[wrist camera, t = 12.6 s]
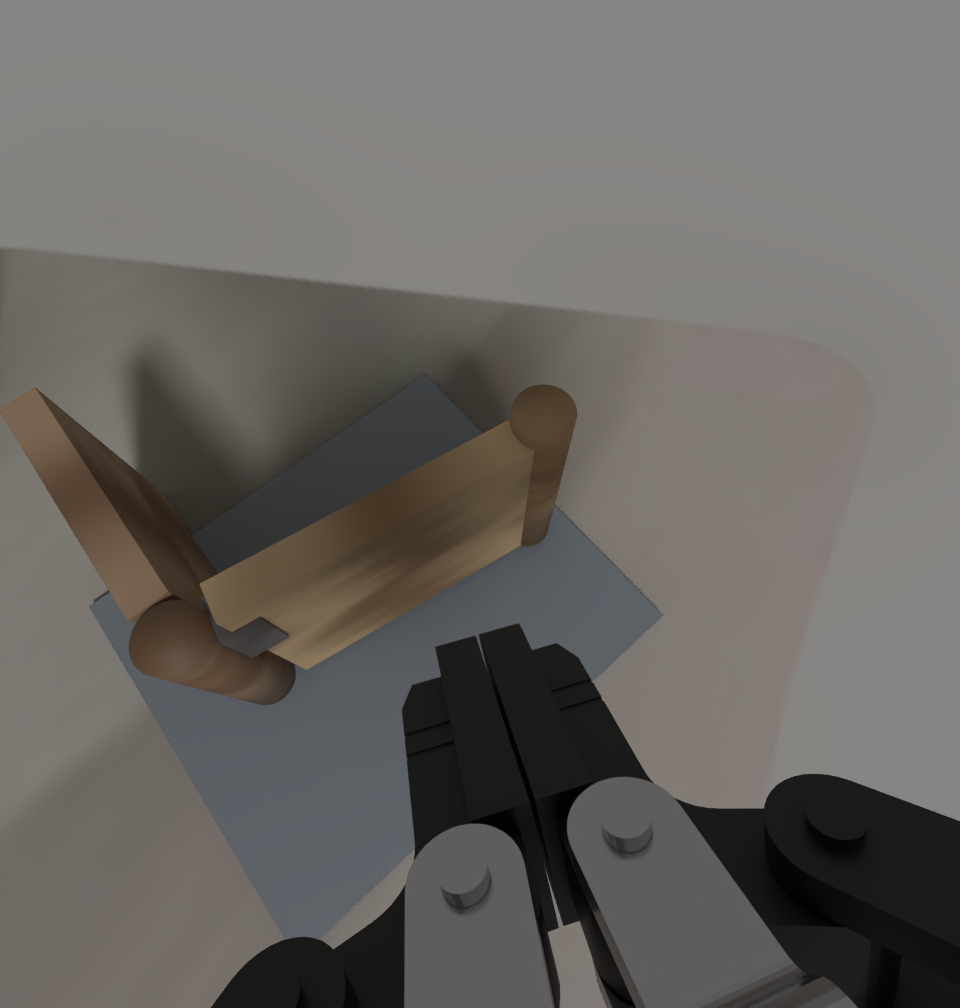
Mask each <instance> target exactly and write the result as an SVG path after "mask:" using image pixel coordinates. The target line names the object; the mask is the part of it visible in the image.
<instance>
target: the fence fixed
mask: <svg viewBox="0 0 960 1008" xmlns="http://www.w3.org/2000/svg"><path fill="white" fill-rule="evenodd" d="M0 413H1V415H2V416H3V418H4V420H5V421H6V423H7V424H8V426H9V428H10V429H11V431H12V433H13V434H14V436H15V438H16V439H17V441H18V442H19V444H20V446H21V447H22V449H23V451H24V452H25V454H26V456H27V457H28V459H29V460H30V462H31V464H32V465H33V467H34V469H35V470H36V472H37V474H38V475H39V477H40V478H41V480H42V482H43V483H44V485H45V487H46V488H47V490H48V492H49V493H50V495H51V496H52V498H53V500H54V501H55V503H56V505H57V506H58V508H59V510H60V511H61V513H62V515H63V516H64V518H65V519H66V521H67V523H68V524H69V526H70V528H71V529H72V531H73V533H74V534H75V536H76V537H77V539H78V541H79V542H80V544H81V546H82V547H83V549H84V551H85V552H86V554H87V555H88V557H89V559H90V560H91V562H92V564H93V565H94V567H95V569H96V570H97V572H98V573H99V575H100V577H101V578H102V580H103V582H104V583H105V585H106V587H107V588H108V590H109V592H110V593H111V595H112V596H113V598H114V600H115V601H116V603H117V605H118V606H119V608H120V610H121V611H122V613H123V614H124V616H125V618H126V619H127V621H129V622H132V623H134V624H135V626H134V628H133V630H132V632H131V635H130V639H129V655H130V658H131V661H132V663H133V664H134V666H135V667H136V668H137V669H138V670H139V671H140V672H142V673H143V674H145V675H147V676H150V677H154V678H158V679H162V680H166V681H169V682H173V683H177V684H181V685H185V686H189V687H193V688H197V689H201V690H205V691H209V692H213V693H217V694H220V695H224V696H228V697H232V698H236V699H240V700H244V701H248V702H252V703H256V704H260V705H271V704H274V703H277V702H279V701H281V700H282V699H283V698H285V697H286V696H287V695H288V693H289V692H290V691H291V689H292V687H293V685H294V682H295V677H296V670H295V666H294V663H292V662H290V661H288V660H286V659H284V658H282V657H280V656H278V655H276V654H274V653H272V652H270V651H268V650H266V651H264V652H262V653H261V654H259V655H257V656H255V657H254V658H251V657H249V656H247V655H245V654H242V653H240V652H238V651H236V650H233V649H231V648H229V647H227V646H224V645H222V644H220V643H219V642H218V639H217V637H216V634H215V632H214V630H213V627H212V625H211V622H210V620H209V618H208V615H207V613H206V611H205V608H204V606H203V603H202V601H201V599H200V598H202V597H204V594H203V592H202V589H201V587H200V583H202V582H204V581H206V580H208V579H209V578H211V577H213V576H215V575H217V574H218V573H217V572H216V570H215V569H214V567H213V566H212V565H211V563H210V562H209V560H208V559H207V557H206V556H205V555H204V553H203V552H202V550H201V549H200V547H199V546H198V544H197V543H196V542H195V540H194V539H193V537H192V536H191V535H192V534H191V532H190V531H189V529H188V528H187V526H186V525H185V524H184V522H183V521H182V519H181V518H180V516H179V515H178V514H177V512H176V511H175V509H174V508H173V506H172V505H171V504H170V502H169V501H168V499H167V498H166V496H165V495H164V494H163V493H162V492H161V491H160V490H158V489H157V488H156V487H155V486H154V485H152V484H151V483H150V482H149V481H148V480H146V479H145V478H144V477H143V476H142V475H140V474H139V473H138V472H137V471H136V470H134V469H133V468H132V467H131V466H129V465H128V464H127V463H126V462H125V461H123V460H122V459H121V458H120V457H119V456H117V455H116V454H115V453H114V452H113V451H111V450H110V449H109V448H108V447H107V446H105V445H104V444H103V443H102V442H100V441H99V440H98V439H97V438H96V437H94V436H93V435H92V434H91V433H90V432H88V431H87V430H86V429H85V428H84V427H82V426H81V425H80V424H79V423H78V422H76V421H75V420H74V419H73V418H71V417H70V416H69V415H68V414H67V413H65V412H64V411H63V410H62V409H61V408H59V407H58V406H57V405H56V404H55V403H53V402H52V401H51V400H50V399H48V398H47V397H46V396H45V395H44V394H42V393H41V392H40V391H39V390H38V389H36V388H33V389H31V390H30V391H28V392H26V393H25V394H23V395H21V396H19V397H18V398H16V399H14V400H12V401H11V402H9V403H7V404H5V405H4V406H2V407H0Z"/></svg>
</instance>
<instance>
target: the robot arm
mask: <svg viewBox="0 0 960 1008" xmlns="http://www.w3.org/2000/svg"><path fill="white" fill-rule="evenodd" d="M479 639H480V643H481V648H482V652H483V656H484V660H485V663H484V660H483V656H482V653H481V650H480V647H479V644H478V641H477V638H476V636H471V637H468V638H464V639H461V640H457V641H454V642H450V643H447V644H443V645H440V646H436V647H435V649H436V654H437V659H438V664H439V669H440V674H441V677H438V678H434V679H431V680H427V681H424V682H420V683H417V684H413V685H412V686H411V688H410V691H409V693H408V696H407V698H406V700H405V703H404V705H403V708H402V717H403V727H404V735H405V748H406V756H407V768H408V779H409V789H410V799H411V810H412V820H413V830H414V841H415V856H414V862H413V863H412V866H411V868H410V870H409V873H408V877H407V880H406V884H405V886H404V888H403V889H402V891H401V893H400V894H399V896H398V897H397V898H396V900H395V901H394V902H393V903H392V905H391V906H390V907H389V908H388V909H387V910H386V911H385V912H384V913H383V914H382V915H381V916H380V917H378V918H377V919H376V920H375V921H373V922H372V923H371V924H369V925H368V926H366V927H365V928H364V929H362V930H361V931H359V932H358V933H356V934H355V935H354V936H352V937H351V938H349V939H348V940H346V941H345V942H344V943H342V944H341V945H339V946H338V947H336V948H335V949H334V950H333V949H332V948H331V947H330V946H329V945H327V944H326V943H325V942H323V941H321V940H318V939H315V938H311V937H295V938H290V939H286V940H283V941H280V942H278V943H276V944H273V945H271V946H269V947H268V948H266V949H265V950H263V951H261V952H260V953H258V954H257V955H256V956H255V957H253V958H252V959H251V960H250V961H249V962H248V963H246V964H245V965H244V966H243V967H242V968H241V969H240V970H239V971H238V973H237V974H236V975H235V976H234V978H233V979H232V980H231V981H230V982H229V984H228V985H227V987H226V988H225V989H224V991H223V992H222V993H221V995H220V996H219V997H218V999H217V1000H216V1001H215V1003H214V1004H213V1006H212V1007H211V1008H560V1004H559V1003H560V983H559V978H558V973H557V969H556V965H555V961H554V957H553V953H552V949H551V945H550V940H549V936H548V932H549V931H552V930H555V929H557V928H559V927H558V922H557V918H556V913H555V909H554V905H553V900H552V896H551V892H550V887H549V883H548V879H547V875H548V878H549V881H550V885H551V888H552V891H553V894H554V897H555V900H556V904H557V907H558V910H559V913H560V916H561V919H562V923H563V926H565V925H568V924H571V923H574V922H577V921H580V923H581V926H582V929H583V932H584V935H585V938H586V940H587V943H588V946H589V949H590V952H591V955H592V959H593V963H594V968H595V973H596V978H597V983H598V986H599V989H600V992H601V994H602V997H603V999H604V1002H605V1004H606V1006H607V1008H960V821H957V820H955V819H952V818H949V817H947V816H944V815H941V814H939V813H936V812H933V811H930V810H928V809H925V808H922V807H920V806H917V805H914V804H912V803H909V802H906V801H904V800H901V799H898V798H895V797H893V796H890V795H887V794H885V793H882V792H879V791H877V790H874V789H871V788H868V787H866V786H863V785H860V784H857V783H855V782H852V781H850V780H846V779H843V778H839V777H835V776H830V775H823V774H804V775H799V776H794V777H791V778H789V779H787V780H784V781H783V782H781V783H779V784H778V785H777V786H776V787H775V788H774V789H773V790H772V791H771V792H770V794H769V795H768V797H767V799H766V803H765V806H764V809H716V808H705V807H699V806H694V805H691V804H688V803H685V802H682V801H680V800H678V799H676V798H674V797H673V796H672V795H670V794H669V793H668V792H667V791H666V790H664V789H663V788H661V787H660V786H658V785H656V784H654V783H653V782H652V781H651V780H650V778H649V777H648V776H647V774H646V773H645V771H644V770H643V768H642V766H641V765H640V763H639V761H638V759H637V758H636V756H635V754H634V752H633V751H632V749H631V747H630V746H629V744H628V742H627V740H626V739H625V737H624V735H623V733H622V732H621V730H620V728H619V727H618V725H617V723H616V721H615V720H614V718H613V716H612V714H611V713H610V711H609V709H608V708H607V706H606V704H605V702H604V701H602V698H601V695H600V694H599V692H598V690H597V689H596V687H595V685H594V683H592V681H591V678H590V676H589V675H588V673H587V671H586V669H585V668H584V666H583V664H582V663H581V661H580V659H579V657H577V656H576V655H574V654H573V653H571V652H570V651H568V650H566V649H565V648H563V647H562V646H560V645H559V644H557V643H555V644H551V645H548V646H544V647H541V648H537V649H534V650H532V649H531V647H530V645H529V643H528V640H527V638H526V636H525V634H524V632H523V630H522V628H521V626H520V624H519V623H517V624H513V625H510V626H506V627H503V628H499V629H496V630H492V631H489V632H485V633H481V634H479ZM485 664H486V666H485ZM486 668H487V669H486ZM544 865H545V866H544ZM545 869H546V870H545ZM546 872H547V874H546Z"/></svg>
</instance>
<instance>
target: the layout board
mask: <svg viewBox="0 0 960 1008" xmlns="http://www.w3.org/2000/svg"><path fill="white" fill-rule="evenodd" d="M481 434H483V432H482V431H481V430H480V429H479V428H478V427H477V426H476V425H475V424H474V423H473V422H472V421H471V420H470V419H469V418H468V417H467V416H466V415H465V414H464V413H463V412H462V411H461V410H460V409H459V408H458V407H457V406H456V405H455V404H454V403H453V402H452V401H451V400H450V399H449V398H448V397H447V396H446V395H445V394H444V393H443V392H442V391H441V390H440V389H439V388H438V387H437V386H436V385H435V384H434V383H433V382H432V381H431V380H430V379H429V378H428V376H427V375H426V374H424V375H423V376H421V377H420V378H418V379H417V380H415V381H414V382H412V383H411V384H410V385H408V386H407V387H405V388H404V389H402V390H401V391H399V392H398V393H397V394H395V395H394V396H392V397H391V398H389V399H388V400H386V401H385V402H384V403H382V404H381V405H379V406H378V407H376V408H375V409H373V410H372V411H371V412H369V413H368V414H366V415H365V416H363V417H362V418H360V419H359V420H358V421H356V422H355V423H353V424H352V425H350V426H349V427H347V428H346V429H345V430H343V431H342V432H340V433H339V434H337V435H336V436H334V437H333V438H332V439H330V440H329V441H327V442H326V443H324V444H323V445H321V446H320V447H319V448H317V449H316V450H314V451H313V452H311V453H310V454H308V455H307V456H306V457H304V458H303V459H301V460H300V461H298V462H297V463H295V464H294V465H293V466H291V467H290V468H288V469H287V470H285V471H284V472H282V473H281V474H280V475H278V476H277V477H275V478H274V479H272V480H271V481H269V482H268V483H266V484H265V485H264V486H262V487H261V488H259V489H258V490H256V491H255V492H253V493H252V494H251V495H249V496H248V497H246V498H245V499H243V500H242V501H240V502H239V503H238V504H236V505H235V506H233V507H232V508H230V509H229V510H227V511H226V512H225V513H223V514H222V515H220V516H219V517H217V518H216V519H214V520H213V521H212V522H210V523H209V524H207V525H206V526H204V527H203V528H201V529H200V530H199V531H197V532H196V533H194V534H193V535H191V536H192V537H193V539H194V540H195V542H196V543H197V544H198V546H199V547H200V549H201V550H202V552H203V553H204V555H205V556H206V557H207V559H208V560H209V562H210V563H211V565H212V566H213V567H214V569H215V570H216V572H217V573H218V574H219V573H221V572H223V571H224V570H226V569H228V568H230V567H232V566H234V565H236V564H238V563H240V562H241V561H243V560H245V559H247V558H249V557H251V556H253V555H255V554H257V553H258V552H260V551H262V550H264V549H266V548H268V547H270V546H272V545H274V544H275V543H277V542H279V541H281V540H283V539H285V538H287V537H289V536H291V535H292V534H294V533H296V532H298V531H300V530H302V529H304V528H306V527H308V526H309V525H311V524H313V523H315V522H317V521H319V520H321V519H323V518H324V517H326V516H328V515H330V514H332V513H334V512H336V511H338V510H340V509H341V508H343V507H345V506H347V505H349V504H351V503H353V502H355V501H357V500H358V499H360V498H362V497H364V496H366V495H368V494H370V493H372V492H374V491H375V490H377V489H379V488H381V487H383V486H385V485H387V484H389V483H391V482H392V481H394V480H396V479H398V478H400V477H402V476H404V475H406V474H408V473H409V472H411V471H413V470H415V469H417V468H419V467H421V466H423V465H424V464H426V463H428V462H430V461H432V460H434V459H436V458H438V457H440V456H441V455H443V454H445V453H447V452H449V451H451V450H453V449H455V448H457V447H458V446H460V445H462V444H464V443H466V442H468V441H470V440H472V439H474V438H475V437H477V436H479V435H481ZM89 607H90V609H91V610H92V612H93V614H94V615H95V617H96V619H97V621H98V622H99V624H100V626H101V627H102V629H103V631H104V632H105V634H106V636H107V637H108V639H109V641H110V643H111V644H112V646H113V648H114V649H115V651H116V653H117V654H118V656H119V658H120V660H121V661H122V663H123V665H124V666H125V668H126V670H127V671H128V673H129V675H130V676H131V678H132V680H133V682H134V683H135V685H136V687H137V688H138V690H139V692H140V693H141V695H142V697H143V699H144V700H145V702H146V704H147V705H148V707H149V709H150V710H151V712H152V714H153V716H154V717H155V719H156V721H157V722H158V724H159V726H160V727H161V729H162V731H163V732H164V734H165V736H166V738H167V739H168V741H169V743H170V744H171V746H172V748H173V749H174V751H175V753H176V755H177V756H178V758H179V760H180V761H181V763H182V765H183V766H184V768H185V770H186V771H187V773H188V775H189V777H190V778H191V780H192V782H193V783H194V785H195V787H196V788H197V790H198V792H199V794H200V795H201V797H202V799H203V800H204V802H205V804H206V805H207V807H208V809H209V810H210V812H211V814H212V816H213V817H214V819H215V821H216V822H217V824H218V826H219V827H220V829H221V831H222V833H223V834H224V836H225V838H226V839H227V841H228V843H229V844H230V846H231V848H232V849H233V851H234V853H235V855H236V856H237V858H238V860H239V861H240V863H241V865H242V866H243V868H244V870H245V872H246V873H247V875H248V877H249V878H250V880H251V882H252V883H253V885H254V887H255V888H256V890H257V892H258V894H259V895H260V897H261V899H262V900H263V902H264V904H265V905H266V907H267V909H268V911H269V912H270V914H271V916H272V917H273V919H274V921H275V922H276V924H277V926H278V927H279V929H280V931H281V933H282V934H283V936H284V938H285V939H290V938H295V937H311V938H315V939H319V938H320V937H321V936H322V935H323V934H324V933H325V932H326V931H327V930H329V929H330V928H331V927H332V926H333V925H334V924H335V923H336V922H337V921H338V920H339V919H340V918H341V917H342V916H343V915H344V914H346V913H347V912H348V911H349V910H350V909H351V908H352V907H353V906H354V905H355V904H356V903H357V902H358V901H359V900H360V899H361V898H363V897H364V896H365V895H366V894H367V893H368V892H369V891H370V890H371V889H372V888H373V887H374V886H375V885H376V884H377V883H378V882H380V881H381V880H382V879H383V878H384V877H385V876H386V875H387V874H388V873H389V872H390V871H391V870H392V869H393V868H394V867H396V866H397V865H398V864H399V863H400V862H401V861H402V860H403V859H404V858H405V857H406V856H407V855H408V854H409V853H410V852H411V851H413V850H414V849H415V841H414V830H413V820H412V810H411V799H410V789H409V779H408V768H407V756H406V748H405V735H404V727H403V717H402V708H403V705H404V703H405V700H406V698H407V696H408V693H409V691H410V688H411V686H412V685H413V684H417V683H420V682H424V681H427V680H431V679H434V678H438V677H441V674H440V669H439V664H438V659H437V654H436V649H435V647H436V646H440V645H443V644H447V643H450V642H454V641H457V640H461V639H464V638H468V637H471V636H476V638H477V641H478V644H479V647H480V650H481V653H482V656H483V652H482V648H481V643H480V639H479V634H481V633H485V632H489V631H492V630H496V629H499V628H503V627H506V626H510V625H513V624H517V623H519V624H520V626H521V628H522V630H523V632H524V634H525V636H526V638H527V640H528V643H529V645H530V647H531V649H532V650H534V649H537V648H541V647H544V646H548V645H551V644H555V643H557V644H559V645H560V646H562V647H563V648H565V649H566V650H568V651H570V652H571V653H573V654H574V655H576V656H577V657H579V659H580V661H581V663H582V664H583V666H584V668H585V669H586V671H587V673H588V675H589V676H590V678H591V681H593V680H594V679H595V678H596V677H598V676H599V675H600V674H601V673H602V672H603V671H604V670H605V669H606V668H607V667H608V666H609V665H610V664H611V663H612V662H614V661H615V660H616V659H617V658H618V657H619V656H620V655H621V654H622V653H623V652H624V651H625V650H626V649H627V648H628V647H629V646H631V645H632V644H633V643H634V642H635V641H636V640H637V639H638V638H639V637H640V636H641V635H642V634H643V633H644V632H645V631H646V630H648V629H649V628H650V627H651V626H652V625H653V624H654V623H655V622H656V621H657V620H658V619H659V618H660V617H661V616H662V613H661V612H660V611H659V610H658V609H657V608H656V607H655V606H654V605H653V604H652V603H651V602H650V601H649V600H648V599H647V598H646V597H645V596H644V595H643V594H642V593H641V592H640V591H639V590H638V589H637V588H636V587H635V586H634V585H633V584H632V583H631V582H630V581H629V580H628V579H627V578H626V577H625V576H624V575H623V574H622V573H621V572H620V571H619V570H618V569H617V568H616V567H615V566H614V565H613V564H612V563H611V562H610V561H609V560H608V559H607V558H606V557H605V556H604V555H603V554H602V553H601V552H600V551H599V550H598V549H597V548H596V547H595V546H594V545H593V544H592V543H591V542H590V541H589V540H588V539H587V538H586V537H585V536H584V534H583V533H582V532H581V531H580V530H579V529H578V528H577V527H576V526H575V525H574V524H573V523H572V522H571V521H570V520H569V519H568V518H567V517H566V516H565V515H564V514H563V513H562V512H561V511H560V510H559V509H558V508H557V507H556V506H555V505H554V509H553V513H552V517H551V521H550V525H549V529H548V532H547V535H546V537H545V538H544V539H543V540H542V541H541V542H540V543H539V544H537V545H534V546H529V547H524V546H519V547H517V548H516V549H514V550H512V551H511V552H509V553H507V554H505V555H504V556H502V557H500V558H498V559H497V560H495V561H493V562H492V563H490V564H488V565H486V566H485V567H483V568H481V569H480V570H478V571H476V572H474V573H473V574H471V575H469V576H468V577H466V578H464V579H462V580H461V581H459V582H457V583H455V584H454V585H452V586H450V587H449V588H447V589H445V590H443V591H442V592H440V593H438V594H437V595H435V596H433V597H431V598H430V599H428V600H426V601H425V602H423V603H421V604H419V605H418V606H416V607H414V608H412V609H411V610H409V611H407V612H406V613H404V614H402V615H400V616H399V617H397V618H395V619H394V620H392V621H390V622H388V623H387V624H385V625H383V626H382V627H380V628H378V629H376V630H375V631H373V632H371V633H369V634H368V635H366V636H364V637H363V638H361V639H359V640H357V641H356V642H354V643H352V644H351V645H349V646H347V647H345V648H344V649H342V650H340V651H339V652H337V653H335V654H333V655H332V656H330V657H328V658H326V659H325V660H323V661H321V662H320V663H318V664H316V665H314V666H313V667H311V668H309V669H308V670H306V669H304V668H302V667H300V666H298V665H296V664H294V666H295V670H296V677H295V682H294V685H293V687H292V689H291V691H290V692H289V693H288V695H287V696H286V697H285V698H283V699H282V700H281V701H279V702H277V703H274V704H271V705H260V704H256V703H252V702H248V701H244V700H240V699H236V698H232V697H228V696H224V695H220V694H217V693H213V692H209V691H205V690H201V689H197V688H193V687H189V686H185V685H181V684H177V683H173V682H169V681H166V680H162V679H158V678H154V677H150V676H147V675H145V674H143V673H142V672H140V671H139V670H138V669H137V668H136V667H135V666H134V664H133V663H132V661H131V658H130V655H129V639H130V635H131V632H132V630H133V628H134V626H135V624H134V623H132V622H129V621H127V619H126V618H125V616H124V614H123V613H122V611H121V610H120V608H119V606H118V605H117V603H116V601H115V600H114V598H113V596H112V595H111V593H110V592H109V593H108V594H106V595H105V596H103V597H102V598H100V599H99V600H97V601H96V602H95V603H93V604H92V605H90V606H89ZM483 660H484V656H483ZM484 663H485V660H484ZM485 666H486V664H485ZM486 669H487V668H486Z"/></svg>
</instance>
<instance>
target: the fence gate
mask: <svg viewBox="0 0 960 1008" xmlns="http://www.w3.org/2000/svg"><path fill="white" fill-rule="evenodd" d="M576 418H577V409H576V405H575V403H574V401H573V399H572V398H571V397H570V396H569V394H567V393H566V392H565V391H563V390H562V389H560V388H558V387H555V386H551V385H535V386H532V387H529V388H527V389H525V390H523V391H522V392H521V393H520V394H519V395H518V396H517V397H516V399H515V400H514V403H513V405H512V414H511V419H509V420H508V421H506V422H504V423H502V424H500V425H498V426H496V427H494V428H492V429H491V430H489V431H487V432H485V433H483V434H481V435H479V436H477V437H475V438H474V439H472V440H470V441H468V442H466V443H464V444H462V445H460V446H458V447H457V448H455V449H453V450H451V451H449V452H447V453H445V454H443V455H441V456H440V457H438V458H436V459H434V460H432V461H430V462H428V463H426V464H424V465H423V466H421V467H419V468H417V469H415V470H413V471H411V472H409V473H408V474H406V475H404V476H402V477H400V478H398V479H396V480H394V481H392V482H391V483H389V484H387V485H385V486H383V487H381V488H379V489H377V490H375V491H374V492H372V493H370V494H368V495H366V496H364V497H362V498H360V499H358V500H357V501H355V502H353V503H351V504H349V505H347V506H345V507H343V508H341V509H340V510H338V511H336V512H334V513H332V514H330V515H328V516H326V517H324V518H323V519H321V520H319V521H317V522H315V523H313V524H311V525H309V526H308V527H306V528H304V529H302V530H300V531H298V532H296V533H294V534H292V535H291V536H289V537H287V538H285V539H283V540H281V541H279V542H277V543H275V544H274V545H272V546H270V547H268V548H266V549H264V550H262V551H260V552H258V553H257V554H255V555H253V556H251V557H249V558H247V559H245V560H243V561H241V562H240V563H238V564H236V565H234V566H232V567H230V568H228V569H226V570H224V571H223V572H221V573H219V574H217V575H215V576H213V577H211V578H209V579H208V580H206V581H204V582H202V583H200V587H201V589H202V592H203V594H204V597H202V598H200V599H201V601H202V603H203V606H204V608H205V611H206V613H207V615H208V618H209V620H210V622H211V625H212V627H213V630H214V632H215V634H216V637H217V639H218V642H219V643H220V644H222V645H224V646H227V647H229V648H231V649H233V650H236V651H238V652H240V653H242V654H245V655H247V656H249V657H251V658H254V657H255V656H257V655H259V654H261V653H262V652H264V651H266V650H268V651H270V652H272V653H274V654H276V655H278V656H280V657H282V658H284V659H286V660H288V661H290V662H292V663H294V664H296V665H298V666H300V667H302V668H304V669H306V670H308V669H309V668H311V667H313V666H314V665H316V664H318V663H320V662H321V661H323V660H325V659H326V658H328V657H330V656H332V655H333V654H335V653H337V652H339V651H340V650H342V649H344V648H345V647H347V646H349V645H351V644H352V643H354V642H356V641H357V640H359V639H361V638H363V637H364V636H366V635H368V634H369V633H371V632H373V631H375V630H376V629H378V628H380V627H382V626H383V625H385V624H387V623H388V622H390V621H392V620H394V619H395V618H397V617H399V616H400V615H402V614H404V613H406V612H407V611H409V610H411V609H412V608H414V607H416V606H418V605H419V604H421V603H423V602H425V601H426V600H428V599H430V598H431V597H433V596H435V595H437V594H438V593H440V592H442V591H443V590H445V589H447V588H449V587H450V586H452V585H454V584H455V583H457V582H459V581H461V580H462V579H464V578H466V577H468V576H469V575H471V574H473V573H474V572H476V571H478V570H480V569H481V568H483V567H485V566H486V565H488V564H490V563H492V562H493V561H495V560H497V559H498V558H500V557H502V556H504V555H505V554H507V553H509V552H511V551H512V550H514V549H516V548H517V547H519V546H524V547H529V546H534V545H537V544H539V543H540V542H541V541H542V540H543V539H544V538H545V537H546V535H547V532H548V529H549V525H550V521H551V517H552V513H553V509H554V505H555V501H556V497H557V493H558V489H559V485H560V481H561V478H562V474H563V470H564V466H565V462H566V458H567V454H568V450H569V446H570V442H571V438H572V434H573V430H574V426H575V422H576Z"/></svg>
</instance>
